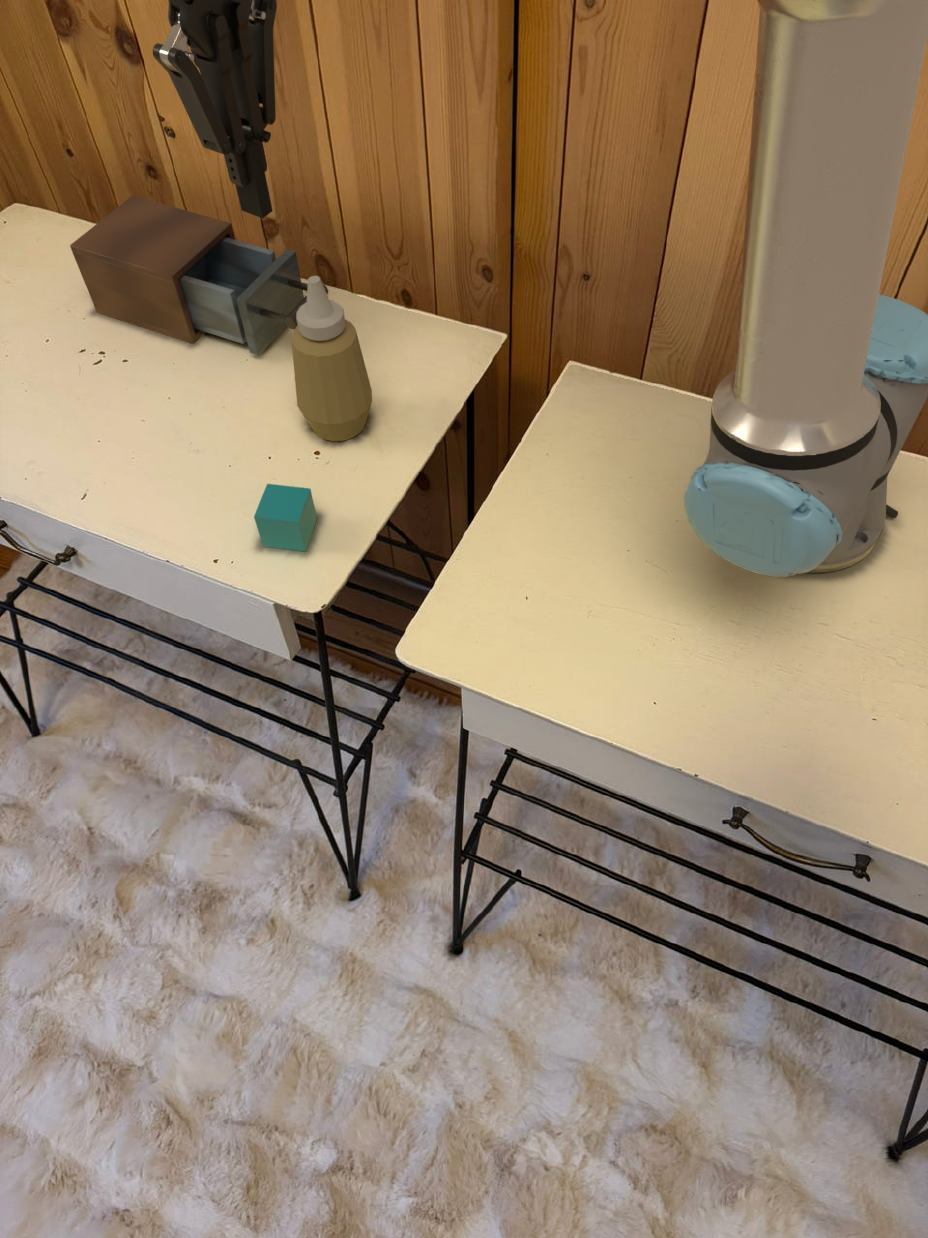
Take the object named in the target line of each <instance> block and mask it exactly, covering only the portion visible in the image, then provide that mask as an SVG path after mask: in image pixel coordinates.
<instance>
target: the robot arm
mask: <svg viewBox="0 0 928 1238" xmlns="http://www.w3.org/2000/svg"><path fill="white" fill-rule="evenodd" d="M167 1H168V12H167V17H168V18H167V19H168V23H169V26H170V27H171V28H170V30H169V33H168V35H167V36H166V39H165V42H164V43H163V44H162V43H160V42H157V43H154V45H153V47H152V57H153V58H154V59H155V61H157V62H158V64H159V65H160V66H161V67H162V68H163V69H164V70H165V71H166V72H167V73H168V75H169V78H170V80H171V82H172V84H173V87H174V88H175V90H176V93H177V95H178V97H179V99H180V102H181V103H182V106H183V107H184V110H185V112H186V114H187V117H188V118H189V120H190V122H191V124H192V127H193V129H194V131H195V133H196V135H197V137H198V140H199V142H200V143H201V146H202V147H203V148H204V149H207V150H210V151H213V152H215V153H218V154H222V155H223V158H224V161H225V166H226V170H227V173H228V179H229V181H230V182H231V184H233V185H234V186H235V188H236V193H237V197H238V201H239V204H240V205H239V206H240V210H241V212H245V213H247V214H250V215H252V216H254V217H258V218H261V219H264V218H266V217H267V216H268V215H269V214H271V213H272V212H273V205H272V201H271V196H270V195H271V194H270V190H269V186H268V180H267V176H266V172H267V171H268V162H267V158H266V157H267V156H266V153H265V152H266V151H265V146H264V143H269V142H270V140H271V137H272V133H271V132H270V131H267V130H266V127H267V126H268V125H270V126H271V125H274V123H275V122H276V112H277V111H276V85H275V82H276V81H275V54H274V53H275V51H274V26H275V20H276V14H277V9H278V2H277V0H167ZM756 2H757V4H758V8H759V12H758V13H759V14H758V15H759V16H758V28H757V29H758V31H757V45H756V56H755V57H756V58H755V73H754V87H753V88H754V89H753V103H752V118H751V133H750V145H749V146H750V147H749V162H748V176H747V189H746V191H747V192H746V202H745V203H746V204H745V205H746V206H745V217H744V218H745V220H744V233H743V247H742V263H741V278H740V292H739V306H738V307H739V308H738V321H737V334H736V335H737V337H736V350H735V351H736V352H735V365H734V367H735V368H734V370H733V371H731V372H730V373H728V374H727V375H726V376H725V377H724V378H722V379H721V381H720V382H719V383H718V385H717V386H716V388H715V390H714V393H713V396H712V400H711V409H710V431H709V448H708V452H707V456H706V458H705V460H704V463H703V464H702V465H701V466H699V467H697V468H696V469H695V470H694V471H693V473H692V475H690V480H689V481H688V484H687V485H686V488H685V491H684V495H683V507H684V512H685V515H686V518H687V520H688V523H689V525H690V526H691V528H692V530H693V532H695V534H696V535H697V536H698V538H699V539H700V540H701V541H702V542H704V543H705V544H706V545H707V546H709V547H710V549H711V550H712V551H713V552H714V553H715V554H717V556H719V557H721V558H722V559H724V560H726V561H728V562H729V563H731V564H732V565H735V566H736V567H739V568H741V569H743V570H746V571H749V572H752V573H755V574H758V575H764V576H767V577H768V576H769V577H778V578H785V577H786V578H787V577H793V576H795V575H797V574H800V575H801V574H805V573H811V574H812V573H814V574H815V573H816V574H817V573H818V574H819V573H829V572H836V571H839V570H843V569H846V568H849V567H851V566H854V565H855V564H857V563H859V562H861V561H862V560H863V559H864V558H866V557H867V556H868V555H869V554H870V553H871V552H872V550H873V549H874V547H875V545H876V543H878V540H879V538H880V537H881V534H882V532H883V530H884V526H885V522H886V517H887V516H889V517H890V518H892V519H896V518H897V517H898V515H899V511H898V510H896V509H895V508H893V507H892V506H890V505H888V504H887V499H888V498H887V496H888V495H887V493H888V476H889V474H890V472H891V470H892V468H893V466H894V464H895V462H896V460H897V458H898V456H899V454H900V453H901V450H902V448H903V446H904V445H905V442H906V441H907V439H908V436H909V434H910V433H911V430H912V428H913V426H914V424H915V423H916V420H917V419H918V417H919V415H920V412H921V411H922V408H923V406H924V404H925V402H926V401H927V398H928V313H926V312H924V311H922V310H921V309H919V308H918V307H916V306H914V305H912V304H910V303H908V302H905V301H903V300H900V299H898V298H894V297H891V296H887V295H884V294H880V291H881V286H882V280H883V275H884V270H885V265H886V260H887V253H888V249H889V244H890V239H891V233H892V227H893V221H894V217H895V212H896V207H897V201H898V196H899V190H900V185H901V180H902V176H903V175H902V174H903V169H904V165H905V158H906V153H907V149H908V144H909V143H908V142H909V137H910V133H911V128H912V121H913V116H914V112H915V106H916V101H917V95H918V91H919V90H918V89H919V85H920V80H921V74H922V70H923V69H922V68H923V64H924V58H925V54H926V49H927V43H928V0H756ZM260 104H261V105H262V106H260Z"/></svg>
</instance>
